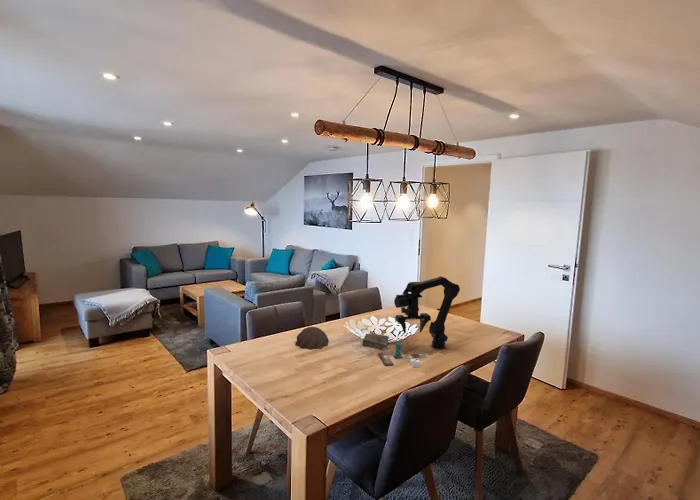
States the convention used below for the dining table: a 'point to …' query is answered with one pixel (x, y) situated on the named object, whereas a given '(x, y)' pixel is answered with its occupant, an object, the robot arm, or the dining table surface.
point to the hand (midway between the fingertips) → (412, 332)
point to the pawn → (398, 350)
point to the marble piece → (375, 341)
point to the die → (414, 362)
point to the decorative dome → (312, 338)
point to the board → (388, 362)
